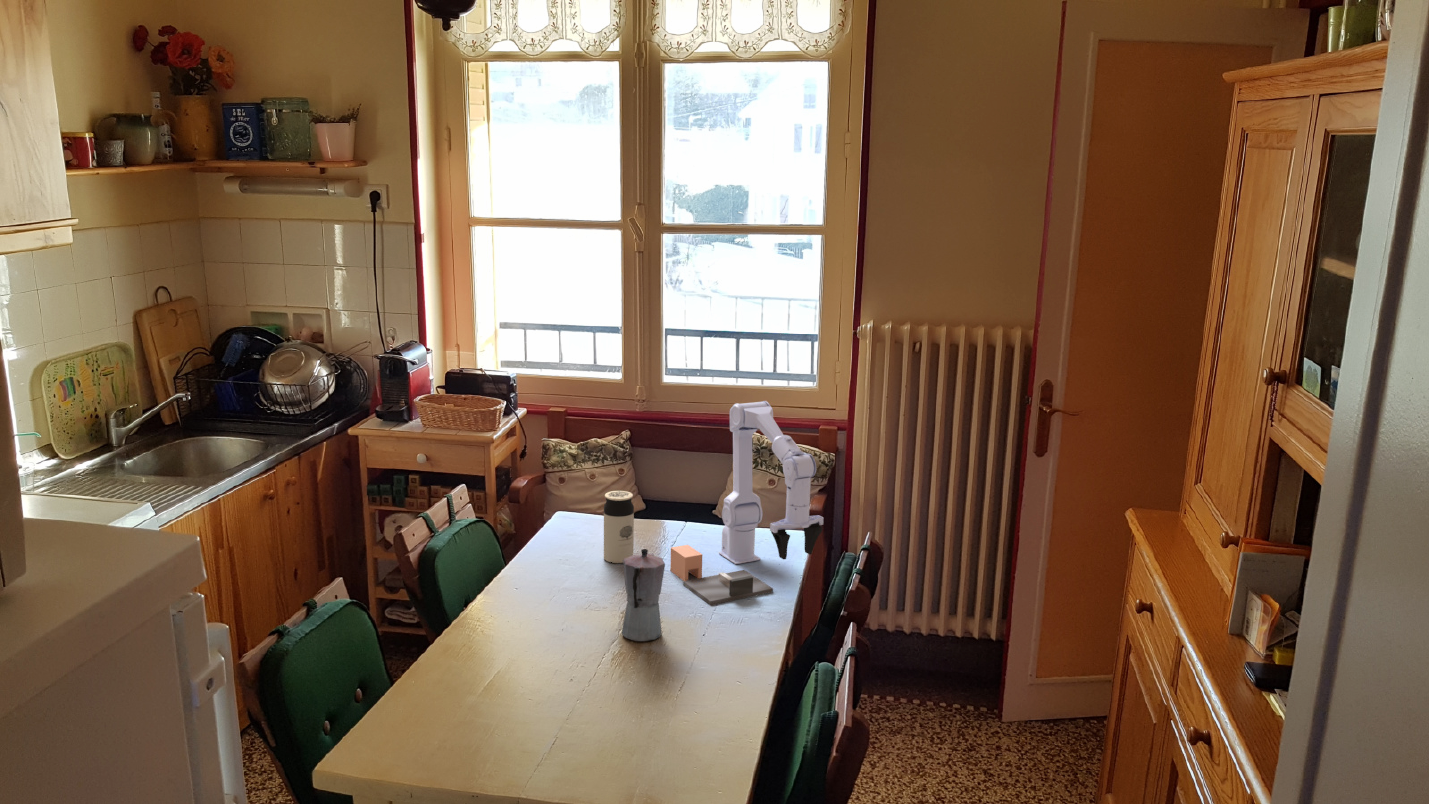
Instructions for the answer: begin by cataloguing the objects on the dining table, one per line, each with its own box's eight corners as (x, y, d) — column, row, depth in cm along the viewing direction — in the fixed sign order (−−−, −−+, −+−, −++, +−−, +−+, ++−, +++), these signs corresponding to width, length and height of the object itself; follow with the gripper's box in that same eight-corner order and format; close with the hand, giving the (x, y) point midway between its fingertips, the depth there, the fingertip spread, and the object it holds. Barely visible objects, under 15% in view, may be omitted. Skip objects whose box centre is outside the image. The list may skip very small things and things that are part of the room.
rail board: (683, 585, 264) (683, 566, 263) (744, 573, 273) (744, 555, 272) (710, 605, 252) (710, 585, 251) (773, 592, 261) (773, 573, 260)
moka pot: (668, 622, 242) (669, 540, 238) (658, 652, 227) (659, 565, 223) (627, 620, 243) (628, 538, 239) (614, 649, 228) (615, 562, 224)
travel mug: (599, 555, 283) (599, 492, 279) (627, 551, 286) (627, 488, 282) (609, 565, 276) (609, 500, 272) (637, 561, 279) (638, 497, 275)
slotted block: (670, 571, 273) (670, 547, 272) (687, 568, 276) (687, 544, 274) (684, 581, 267) (685, 557, 265) (701, 578, 269) (702, 554, 268)
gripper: (782, 511, 249) (779, 565, 252) (831, 503, 256) (828, 556, 259) (766, 503, 255) (764, 556, 257) (815, 495, 262) (812, 547, 265)
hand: (795, 555), depth 258 cm, fingers open, 7 cm apart
